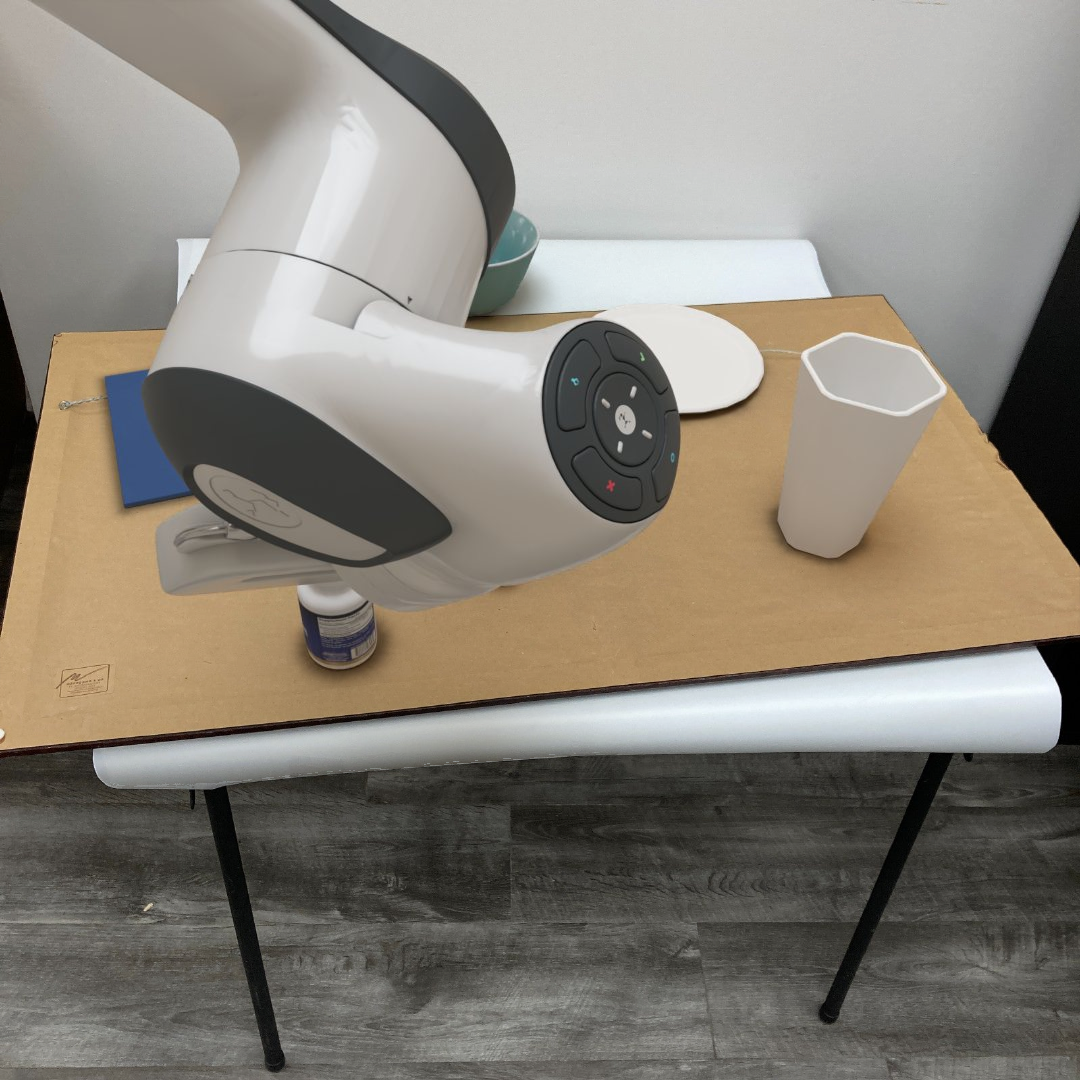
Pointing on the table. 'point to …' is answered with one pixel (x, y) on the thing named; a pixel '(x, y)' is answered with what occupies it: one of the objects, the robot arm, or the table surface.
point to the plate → (695, 353)
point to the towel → (139, 445)
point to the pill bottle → (337, 624)
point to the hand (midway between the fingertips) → (317, 562)
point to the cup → (851, 437)
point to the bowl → (507, 265)
